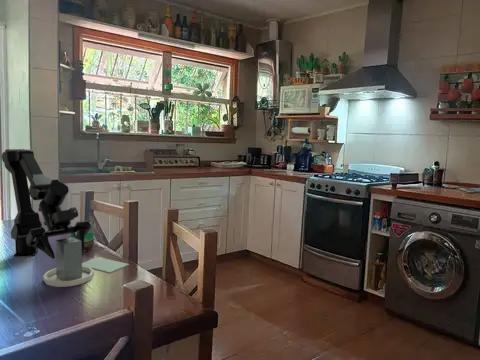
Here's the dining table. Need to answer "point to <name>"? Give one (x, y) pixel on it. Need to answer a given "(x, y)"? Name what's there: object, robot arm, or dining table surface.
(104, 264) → the rubber mat
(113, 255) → the dining table surface
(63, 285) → the ceramic dish
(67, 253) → the tea tin
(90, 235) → the food container
